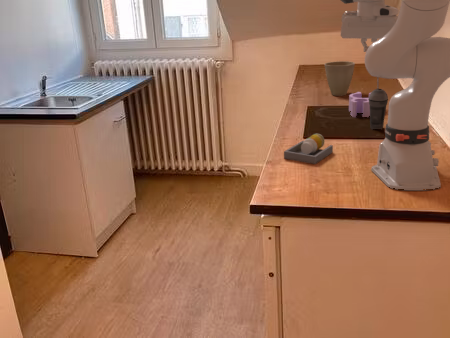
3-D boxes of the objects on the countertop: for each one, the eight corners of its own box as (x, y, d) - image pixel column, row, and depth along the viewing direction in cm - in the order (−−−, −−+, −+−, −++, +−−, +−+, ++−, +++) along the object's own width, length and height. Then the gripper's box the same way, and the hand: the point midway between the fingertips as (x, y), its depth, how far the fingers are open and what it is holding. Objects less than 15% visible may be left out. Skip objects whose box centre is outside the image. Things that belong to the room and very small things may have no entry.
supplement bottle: (317, 150, 164) (305, 159, 157) (307, 138, 165) (295, 147, 158) (328, 142, 161) (316, 150, 154) (318, 130, 161) (306, 138, 154)
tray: (302, 147, 167) (302, 140, 166) (332, 152, 160) (332, 145, 159) (284, 158, 157) (283, 151, 156) (315, 164, 150) (315, 156, 149)
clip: (374, 118, 196) (375, 102, 194) (344, 117, 201) (344, 101, 199) (379, 107, 213) (380, 92, 211) (351, 106, 218) (352, 91, 216)
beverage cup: (373, 132, 179) (376, 80, 171) (363, 127, 185) (365, 76, 178) (390, 129, 180) (393, 77, 173) (379, 124, 187) (382, 74, 180)
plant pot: (351, 90, 248) (352, 60, 242) (355, 96, 234) (357, 65, 228) (322, 91, 250) (323, 61, 244) (325, 98, 236) (326, 66, 230)
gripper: (338, 11, 163) (337, 52, 168) (397, 10, 151) (394, 53, 156) (345, 10, 167) (344, 49, 172) (403, 9, 156) (400, 51, 161)
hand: (368, 51), depth 164 cm, fingers closed
